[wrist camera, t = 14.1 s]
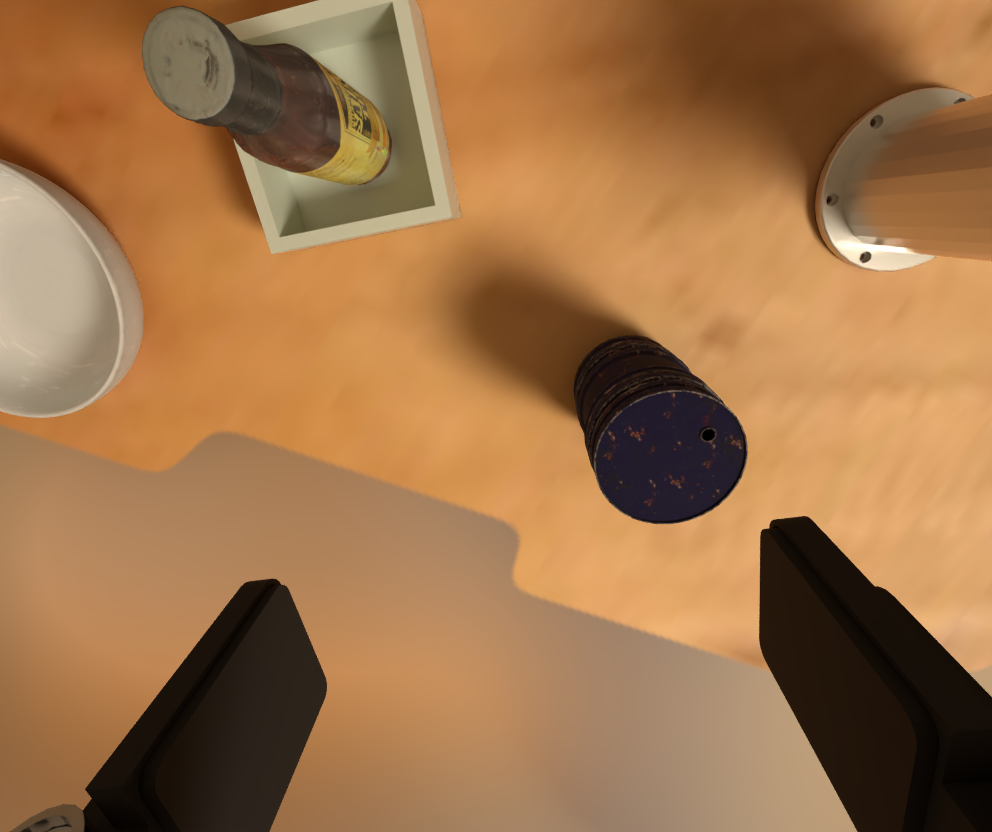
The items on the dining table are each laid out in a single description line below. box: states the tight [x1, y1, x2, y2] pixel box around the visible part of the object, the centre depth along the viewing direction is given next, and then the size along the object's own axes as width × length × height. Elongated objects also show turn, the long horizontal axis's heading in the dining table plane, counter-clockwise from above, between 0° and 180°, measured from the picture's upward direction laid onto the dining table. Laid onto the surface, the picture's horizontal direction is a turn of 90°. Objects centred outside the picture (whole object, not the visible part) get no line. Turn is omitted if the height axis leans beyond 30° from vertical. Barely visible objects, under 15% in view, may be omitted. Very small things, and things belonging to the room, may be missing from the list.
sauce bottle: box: [142, 6, 392, 185], centre depth 29 cm, size 7×6×20 cm
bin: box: [225, 0, 461, 254], centre depth 37 cm, size 14×14×6 cm
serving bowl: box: [0, 159, 144, 418], centre depth 42 cm, size 21×21×7 cm
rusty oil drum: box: [574, 336, 748, 524], centre depth 39 cm, size 10×10×15 cm
